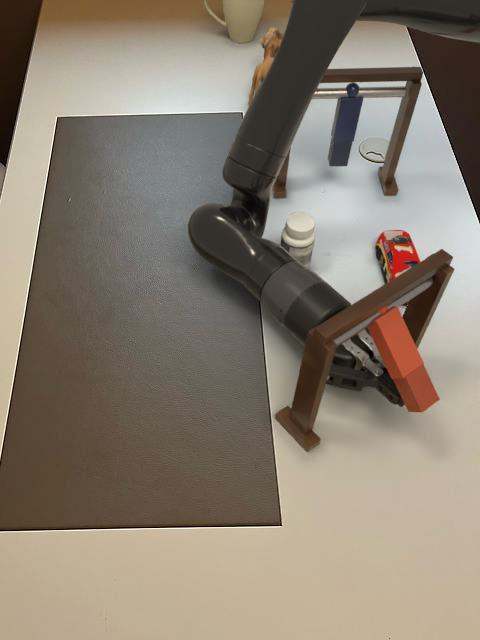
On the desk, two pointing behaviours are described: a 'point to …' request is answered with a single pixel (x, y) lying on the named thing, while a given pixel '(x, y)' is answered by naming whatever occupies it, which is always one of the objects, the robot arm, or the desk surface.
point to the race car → (395, 253)
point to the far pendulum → (350, 115)
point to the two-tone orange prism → (399, 351)
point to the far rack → (400, 126)
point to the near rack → (321, 337)
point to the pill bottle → (299, 236)
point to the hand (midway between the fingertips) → (408, 399)
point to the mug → (240, 18)
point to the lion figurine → (266, 58)
